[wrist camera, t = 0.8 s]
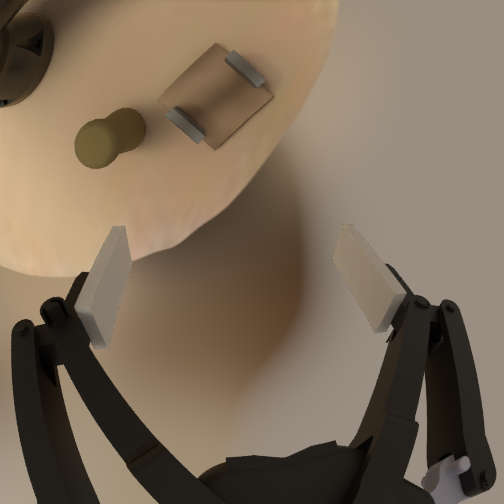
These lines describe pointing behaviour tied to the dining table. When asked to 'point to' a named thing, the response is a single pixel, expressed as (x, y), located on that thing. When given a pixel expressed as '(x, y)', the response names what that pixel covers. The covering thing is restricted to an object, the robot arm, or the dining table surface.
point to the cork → (109, 137)
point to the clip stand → (215, 96)
